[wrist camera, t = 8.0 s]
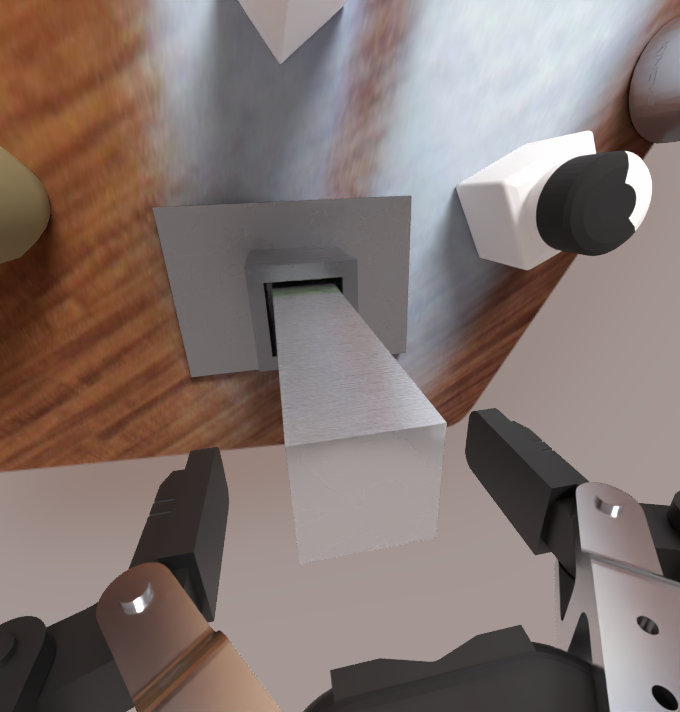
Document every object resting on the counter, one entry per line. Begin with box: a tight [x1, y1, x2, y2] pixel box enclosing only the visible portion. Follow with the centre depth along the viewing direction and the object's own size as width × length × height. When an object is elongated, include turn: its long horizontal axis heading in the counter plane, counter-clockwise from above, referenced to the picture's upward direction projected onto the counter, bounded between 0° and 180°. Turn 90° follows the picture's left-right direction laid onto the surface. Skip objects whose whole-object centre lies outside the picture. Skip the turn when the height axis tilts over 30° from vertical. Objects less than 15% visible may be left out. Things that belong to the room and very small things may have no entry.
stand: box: [153, 196, 411, 377], centre depth 28 cm, size 20×14×10 cm
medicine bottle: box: [456, 131, 652, 270], centre depth 27 cm, size 7×7×12 cm
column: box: [272, 279, 447, 565], centre depth 18 cm, size 4×4×18 cm
